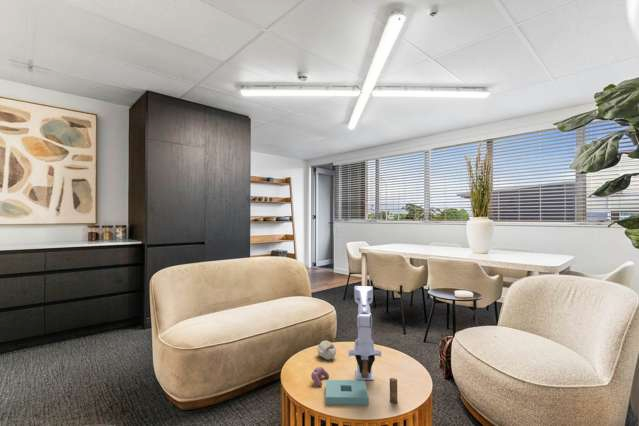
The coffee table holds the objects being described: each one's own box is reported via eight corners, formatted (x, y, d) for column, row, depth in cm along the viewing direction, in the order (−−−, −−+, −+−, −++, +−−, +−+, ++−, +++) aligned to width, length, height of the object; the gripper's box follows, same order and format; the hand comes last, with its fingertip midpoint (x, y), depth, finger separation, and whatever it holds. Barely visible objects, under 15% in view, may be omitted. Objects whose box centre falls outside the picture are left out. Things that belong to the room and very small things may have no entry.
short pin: (361, 374, 135) (360, 359, 135) (368, 374, 135) (368, 359, 135) (361, 378, 132) (361, 362, 132) (369, 378, 132) (369, 362, 132)
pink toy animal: (322, 379, 149) (317, 365, 150) (330, 376, 147) (324, 362, 149) (314, 389, 140) (308, 374, 141) (322, 386, 138) (315, 371, 140)
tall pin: (389, 399, 129) (388, 377, 129) (396, 399, 129) (396, 378, 129) (390, 403, 126) (390, 381, 126) (398, 403, 125) (398, 381, 126)
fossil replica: (330, 363, 162) (339, 358, 171) (332, 348, 163) (341, 343, 171) (312, 356, 169) (321, 352, 177) (314, 341, 170) (323, 337, 178)
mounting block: (326, 386, 139) (326, 379, 139) (364, 387, 138) (364, 380, 139) (325, 404, 125) (325, 396, 125) (368, 405, 124) (368, 397, 125)
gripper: (349, 344, 130) (349, 376, 129) (382, 344, 130) (382, 376, 129) (348, 338, 137) (348, 368, 137) (379, 338, 137) (379, 368, 136)
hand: (364, 372), depth 133 cm, fingers closed on short pin, 3 cm apart
